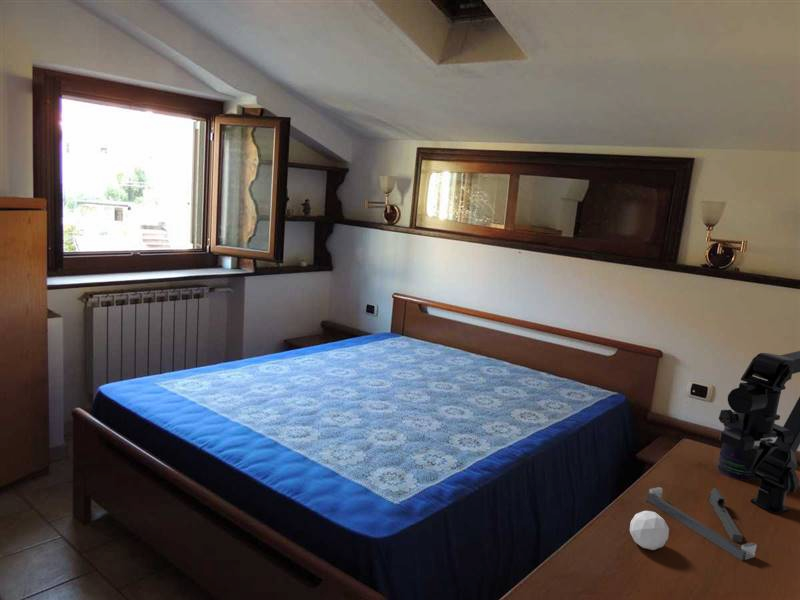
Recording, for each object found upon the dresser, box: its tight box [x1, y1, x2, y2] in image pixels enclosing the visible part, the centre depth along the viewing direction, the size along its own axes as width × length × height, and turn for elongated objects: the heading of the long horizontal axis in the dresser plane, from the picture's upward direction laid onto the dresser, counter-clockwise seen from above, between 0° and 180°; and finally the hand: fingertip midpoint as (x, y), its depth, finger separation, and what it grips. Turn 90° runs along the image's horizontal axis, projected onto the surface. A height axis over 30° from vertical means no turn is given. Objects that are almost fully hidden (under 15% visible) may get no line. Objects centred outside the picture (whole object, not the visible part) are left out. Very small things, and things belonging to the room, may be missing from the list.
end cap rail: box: [645, 486, 757, 561], centre depth 145 cm, size 4×26×3 cm, turn 26°
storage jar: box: [716, 426, 756, 481], centre depth 175 cm, size 10×10×15 cm
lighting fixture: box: [707, 487, 744, 544], centre depth 149 cm, size 19×3×4 cm, turn 169°
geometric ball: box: [629, 510, 670, 551], centre depth 135 cm, size 8×8×8 cm
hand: (750, 469), depth 149 cm, fingers closed
